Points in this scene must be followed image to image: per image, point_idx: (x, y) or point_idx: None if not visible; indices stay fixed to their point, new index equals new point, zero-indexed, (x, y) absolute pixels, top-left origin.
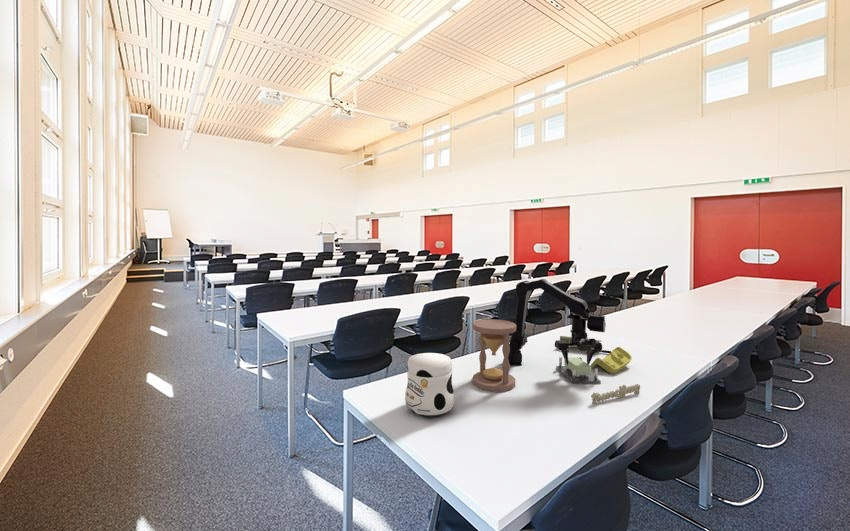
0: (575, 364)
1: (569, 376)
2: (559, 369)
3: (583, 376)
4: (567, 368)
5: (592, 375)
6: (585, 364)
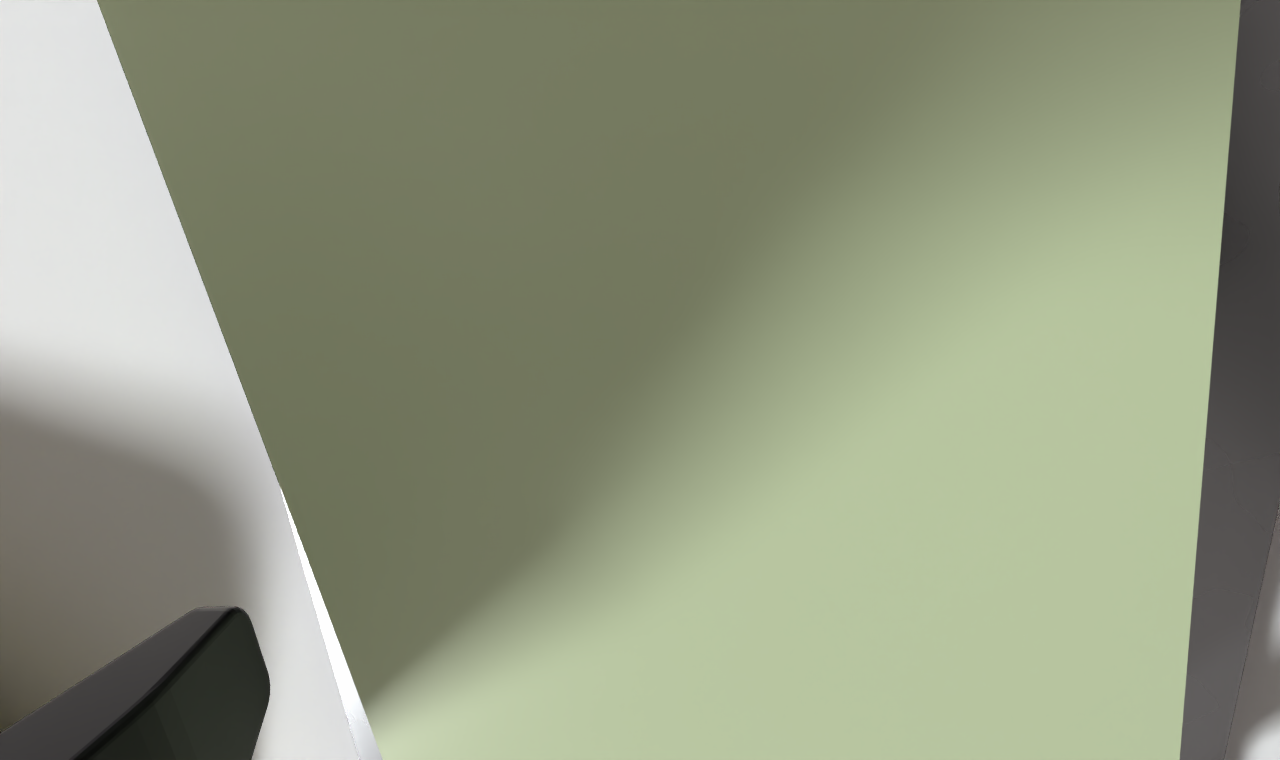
0: (1107, 345)
1: (1259, 37)
2: (1224, 719)
3: None
4: None
5: None
6: (414, 356)
